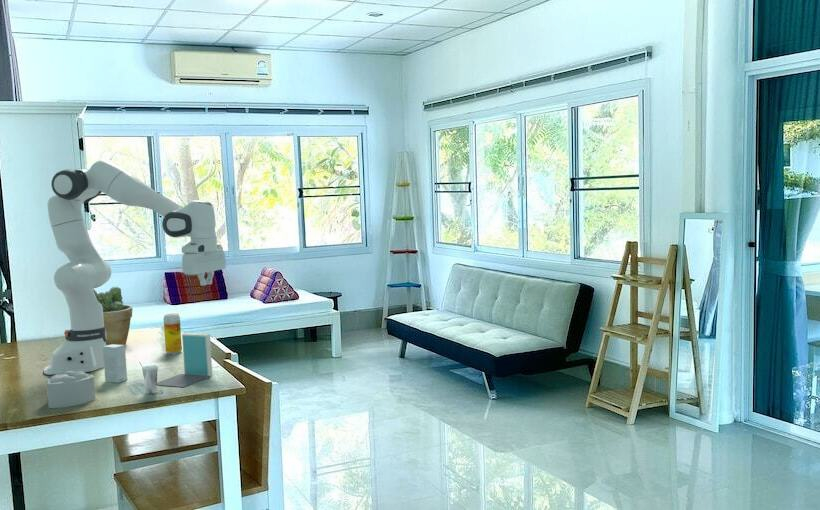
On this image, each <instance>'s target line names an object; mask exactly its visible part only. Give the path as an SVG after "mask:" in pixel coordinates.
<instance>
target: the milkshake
mask: <svg viewBox="0 0 820 510" xmlns="http://www.w3.org/2000/svg"><path fill="white" fill-rule="evenodd" d="M139 365H140V366H141V369H142V375H143V379H144V380H143V381H144V388H145V393H146V394H147V395H153V394H156V393H158V386H157V383H158V365H157V364H156V363H154V362H153V363H148V364H147V363H146V364H145V365H142V363H141V362H140V361H139Z"/></svg>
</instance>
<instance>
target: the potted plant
mask: <svg viewBox="0 0 820 510" xmlns="http://www.w3.org/2000/svg"><path fill="white" fill-rule="evenodd" d="M94 293H95V296H96V299H97V300H98V302H99V303H101V305H102V307H103V319H104V326H105V329H106V338H107V339H106V346H107V345H111V344H116V345H125V346H126V344H127V341H128V338H129V332H130V328H131V318H132V316H133V306H132V305H128V304H127V305H126V304H124V301H123V296H122V288H121V287H119V286H112V287H111V288H110V289H109V291H108V290H107V291H104V292H102V291H101V292H98V293H97V291H96V290H95V289H94Z"/></svg>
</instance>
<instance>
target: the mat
mask: <svg viewBox="0 0 820 510" xmlns="http://www.w3.org/2000/svg"><path fill="white" fill-rule="evenodd" d="M210 377H211V376H205V375H192V374H185V373H180V374H177V375H174V376H172V377H169V378H165V379H163V380H161V381H157V387H159V386H160V387H169V388H171V387H172V388H186V387H188V386H191V385H193V384H196V383H198V382H200V381H203V380H205V379H209V378H210Z"/></svg>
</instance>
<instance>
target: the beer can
mask: <svg viewBox="0 0 820 510" xmlns="http://www.w3.org/2000/svg"><path fill="white" fill-rule="evenodd" d="M163 329H164V330H163V331H164V332H163V333H164V345H165V352H166V354H169V355H175V354H180V353H181V352H182V351H183V341H182V329H181V317H180V315H179V313H167V314H166V313H165V314H164V316H163Z"/></svg>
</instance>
